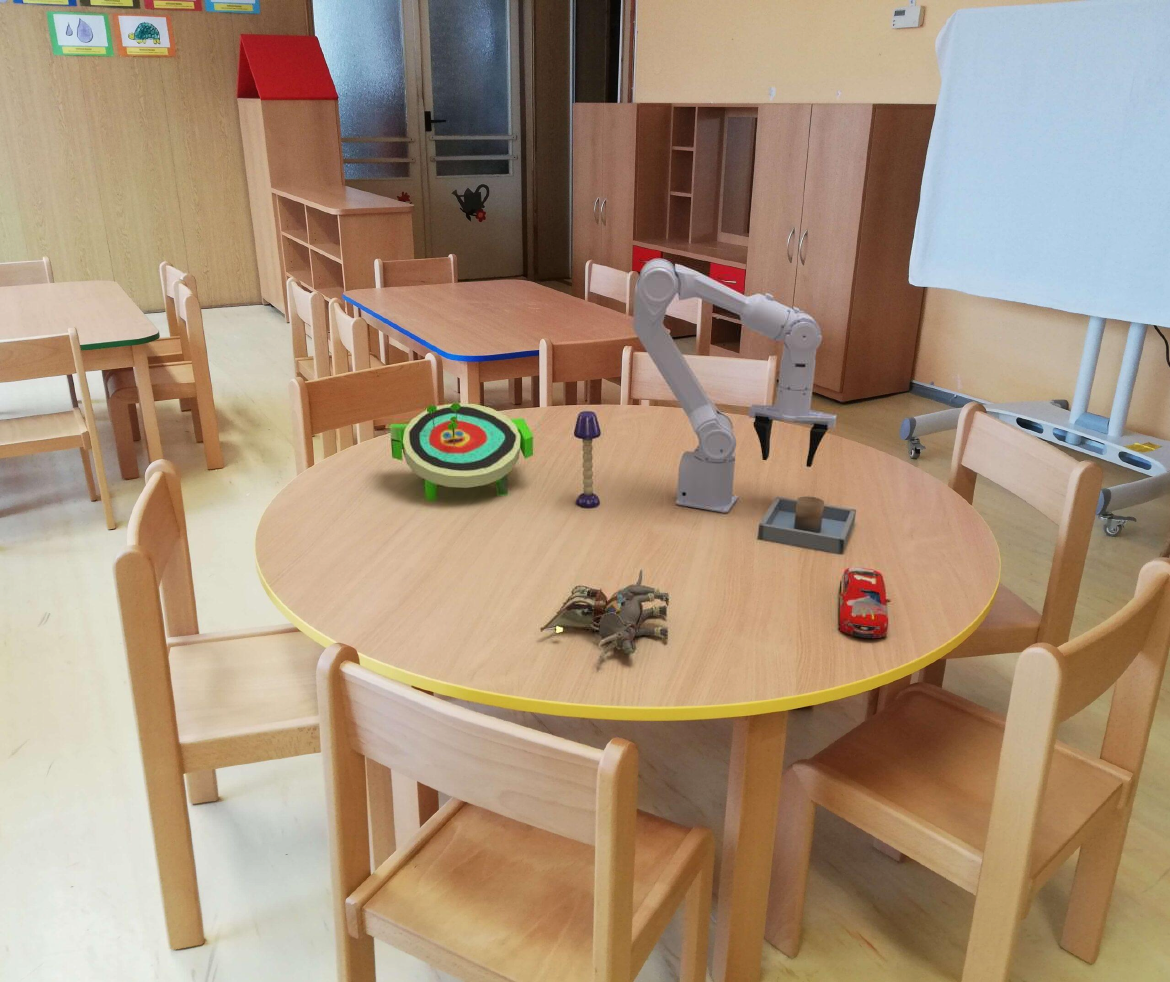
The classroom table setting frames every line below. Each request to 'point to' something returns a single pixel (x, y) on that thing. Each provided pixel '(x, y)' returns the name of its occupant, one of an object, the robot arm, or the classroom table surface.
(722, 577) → the classroom table surface
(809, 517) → the walnut post
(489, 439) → the dartboard
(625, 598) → the figurine
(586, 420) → the toy lamp
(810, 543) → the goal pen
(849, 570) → the race car
